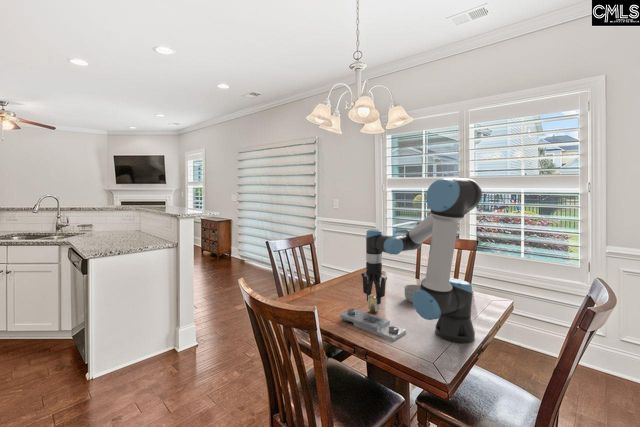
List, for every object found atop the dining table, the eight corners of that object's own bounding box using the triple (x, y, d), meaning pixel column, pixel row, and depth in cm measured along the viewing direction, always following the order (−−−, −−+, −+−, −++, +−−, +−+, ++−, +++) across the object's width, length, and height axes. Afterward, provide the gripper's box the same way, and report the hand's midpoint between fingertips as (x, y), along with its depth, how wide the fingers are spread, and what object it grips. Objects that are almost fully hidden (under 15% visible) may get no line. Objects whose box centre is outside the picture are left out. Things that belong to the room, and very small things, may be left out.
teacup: (401, 302, 171) (402, 287, 170) (406, 296, 180) (407, 282, 180) (429, 307, 164) (429, 292, 164) (432, 300, 174) (433, 286, 173)
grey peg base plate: (406, 333, 136) (406, 323, 136) (393, 341, 129) (393, 331, 129) (353, 314, 156) (353, 305, 155) (339, 320, 148) (339, 311, 148)
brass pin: (379, 310, 158) (379, 296, 157) (374, 313, 155) (374, 298, 155) (372, 308, 161) (372, 294, 160) (367, 310, 158) (368, 296, 157)
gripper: (393, 263, 153) (392, 311, 155) (364, 258, 164) (364, 303, 166) (384, 265, 148) (383, 315, 150) (355, 260, 159) (355, 307, 161)
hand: (373, 309), depth 158 cm, fingers closed on brass pin, 3 cm apart
